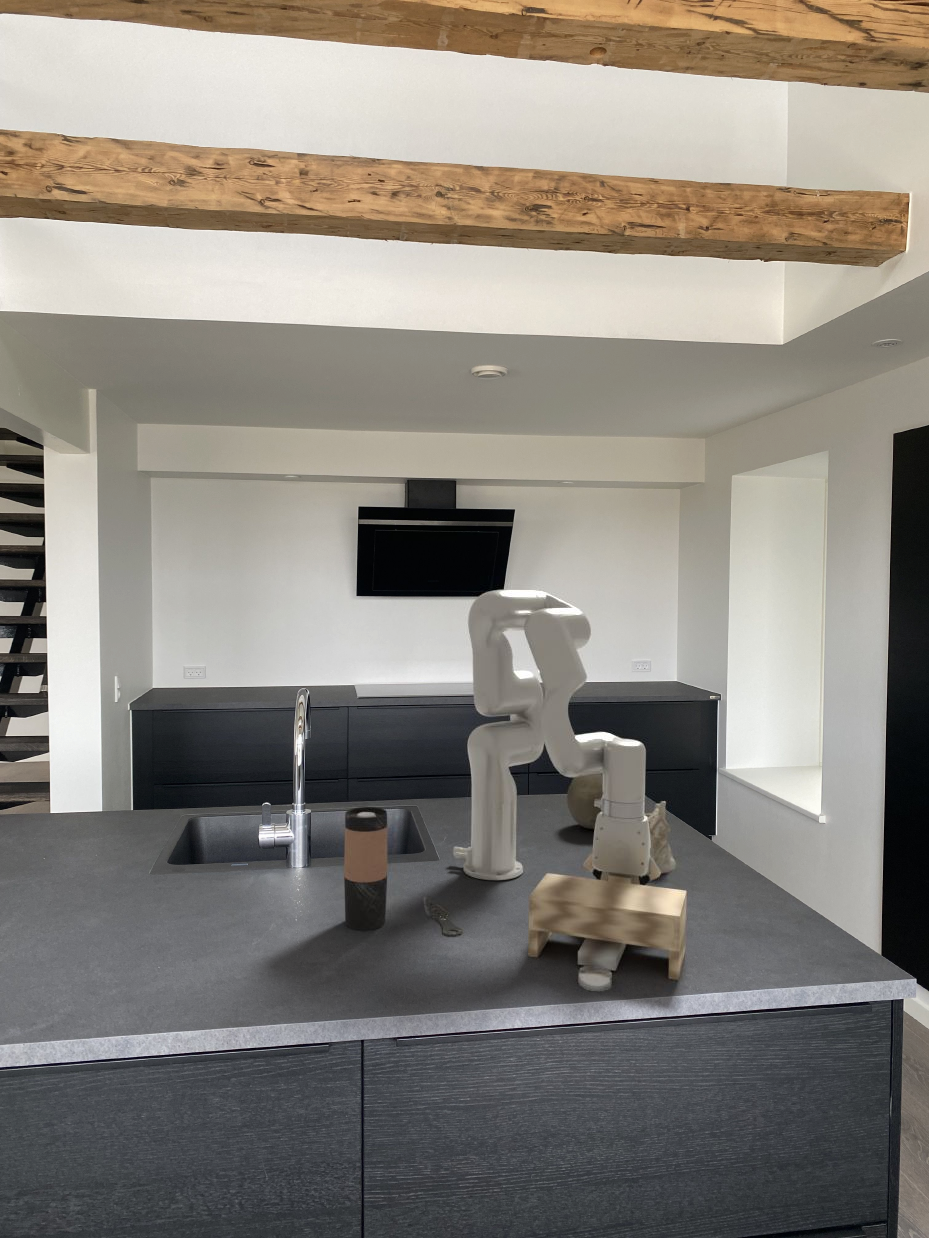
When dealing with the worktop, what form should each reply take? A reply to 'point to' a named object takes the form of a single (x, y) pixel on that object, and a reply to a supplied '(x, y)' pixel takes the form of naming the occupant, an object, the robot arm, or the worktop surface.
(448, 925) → the throwing knife
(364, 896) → the travel mug
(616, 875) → the tan piece
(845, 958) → the worktop surface
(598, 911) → the oak bench
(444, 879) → the worktop surface
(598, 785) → the cantaloupe
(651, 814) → the ceramic cottage
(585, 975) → the steel puck
